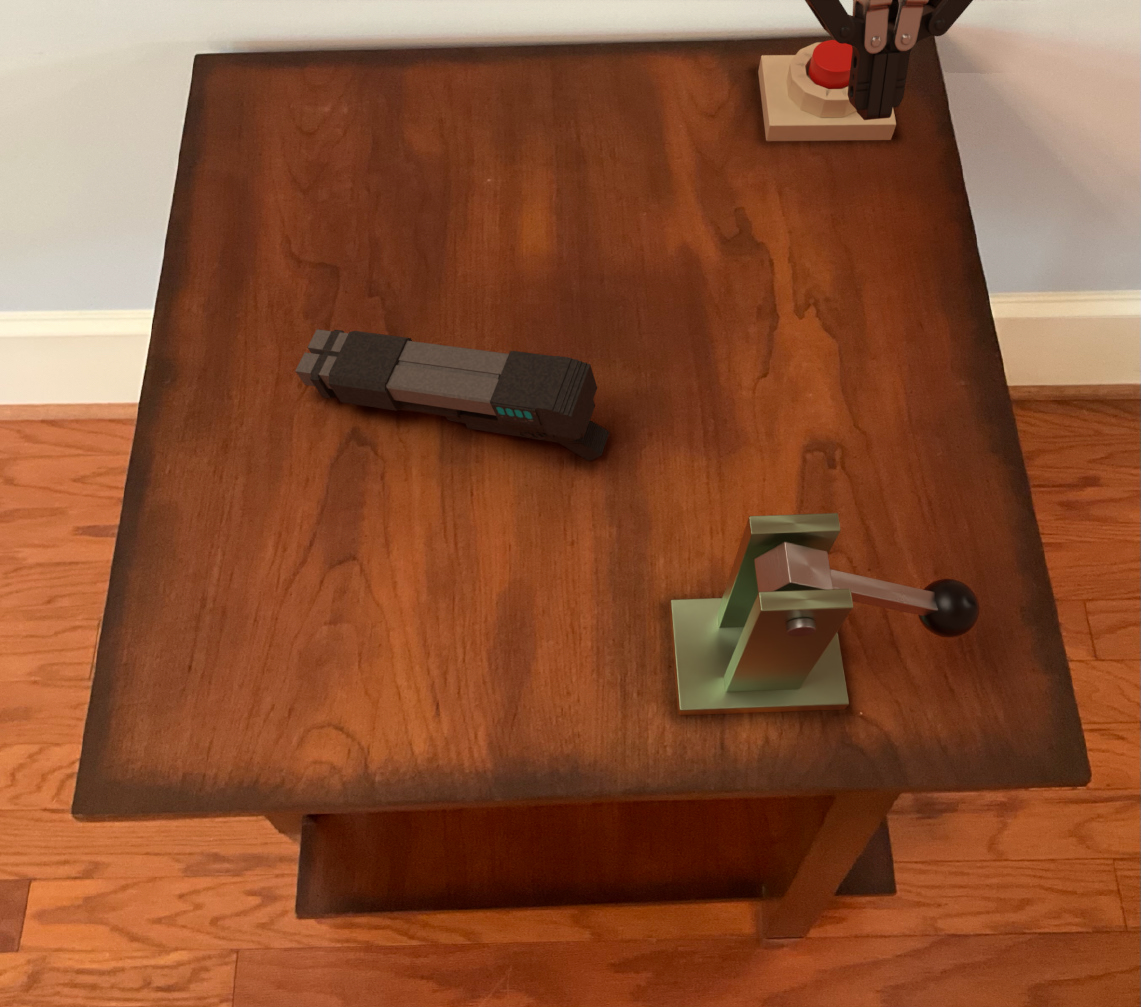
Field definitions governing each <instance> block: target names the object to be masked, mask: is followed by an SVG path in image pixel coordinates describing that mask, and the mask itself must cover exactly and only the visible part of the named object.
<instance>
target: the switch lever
mask: <svg viewBox="0 0 1141 1007" xmlns="http://www.w3.org/2000/svg"><path fill="white" fill-rule="evenodd" d="M755 569H756V577H757V585H758V592H768V591H796V590H824V589H850V590H851V595H852V601H853V603H859V604H863V605H869V606H872V607H873V606H874V607H877V608H878V607H879V608H883V609H888V610H892V611H897V612H902V613H907V614H911V615H912V614H913V615H917V616H918V619H919V621H920V623H921V624H922V626H923V627H924V628H925V629H926V630H928V631H929V632H930V633H932V634H933V635H936V636H938V637H941V638H942V637H943V638H957V637H960V636H962V635H965V634H966V633H968V632H969V631H970V630H971V629H972V628H973V627H974V626H975V624H976V623H977V621H978V618H979V615H980V604H979V599H978V597H977V596H976V594H975V591H973V589H972V588H970V586H969V585H967V584H966V583H964V582H962V581H960V580H957V579H953V578H941V579H936V580H933V581H932V582H930V583H929V584H928V585H926V586H925V587H924V588H923V589H922V588H919V587H913V586H908V585H906V584H905V585H904V584H900V583H896V582H892V581H886V580H883V579H878V578H873V577H868V576H864V575H860V574H855V573H850V572H846V571H841V570H837V569H833V568H831V565H830V559H829V554H828V552H827V551H823V550H819V549H815V548H810V547H806V546H802V545H798V544H793V543H789V542H783V543H781V544H780V545H778V546H776V547H774V548H773V549H771V550H769V551H767V552H766V553H764V554H762V555H760V556H759V557H757V558H755Z"/></svg>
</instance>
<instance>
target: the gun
mask: <svg viewBox="0 0 1141 1007" xmlns="http://www.w3.org/2000/svg"><path fill="white" fill-rule="evenodd" d="M307 349H308V351H309V352H305V351H304V353H303V355H302V356H301V359H300V361H299V363H298V365H297V366H296V369H295V371H294V372H295V373H296V375H297V376H298V377H299V379H300V380H301V382H302V383H303V384H304V386H308V387H315V389H316V390H317V391H318V393H319V394H320V396H321V397H322V398H325V399H333V398H336V397H337V399H338V400H339V402H340V403H345V404H351V405H356V406H357V405H358V406H363V407H369V408H370V407H371V408H376V409H377V408H378V409H383V410H389V411H396V412H397V411H406V412H414V413H421V414H427V415H433V416H440V417H446V419H447V421H449V422H456V423H461V424H462V423H463V424H465V426H466V428H467V429H469V430H475V431H482V432H483V431H484V432H489V433H495V434H501V435H507V436H512V437H520V438H528V439H533V440H540V441H545V442H551V443H558V444H560V445H561V446H563V447H565V448H566V449H568V450H569V451H571V452H572V453H574V454H576V455H578V456H580V457H581V458H583V460H586V461H589V462H591V461H593V460H595V459H598V458H599V457H602V456H603V452H604V450H605V447H606V445H607V441H608V437H609V435H610V431H609V430H608V429H606V428H604V427H603V426H601V425H599V424H598V423H596V422H595V421H593V420H591V419H592V416H593V412H594V410H595V407H596V403H595V396H596V393H597V390H598V385H597V382H596V379H595V375H594V373H593V369H592V366H591V364H590V363H588V362H583V361H582V360H579V359H575V358H572V357H569V356H560V355H548V354H540V353H532V352H527V351H518V350H510V351H509V353H505V352H498V351H491V350H484V349H483V350H482V349H475V348H468V347H462V346H461V347H460V346H452V345H445V344H438V343H428V342H421V341H414V340H413V339H412V338H411V337H406V336H400V335H399V336H398V335H391V334H390V335H389V334H383V333H374V332H367V331H359V330H353V331H349V332H348V333H347V332H345V331H344V330H341V329H334V330H327V329H318V328H317V329H316V330H315V332H314V334H313V336H312V337H311V339H310V341H309V343H308V346H307Z"/></svg>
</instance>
